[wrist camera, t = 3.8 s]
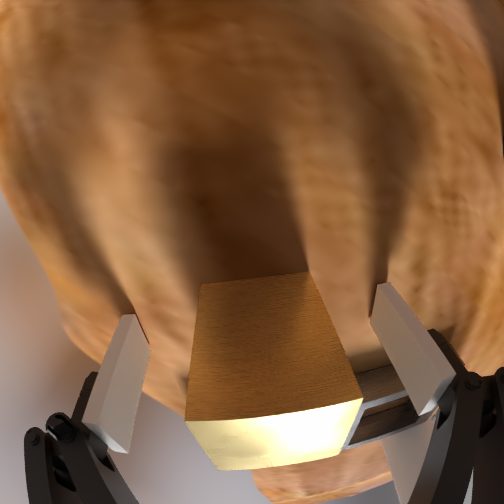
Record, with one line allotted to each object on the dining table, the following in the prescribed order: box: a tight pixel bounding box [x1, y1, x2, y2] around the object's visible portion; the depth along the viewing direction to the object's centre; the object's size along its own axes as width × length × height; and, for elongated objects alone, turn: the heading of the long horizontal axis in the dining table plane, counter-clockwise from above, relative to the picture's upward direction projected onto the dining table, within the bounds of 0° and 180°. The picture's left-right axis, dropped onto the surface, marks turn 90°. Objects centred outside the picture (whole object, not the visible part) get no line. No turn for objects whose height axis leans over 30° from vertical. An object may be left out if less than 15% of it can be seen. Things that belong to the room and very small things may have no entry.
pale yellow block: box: [185, 271, 363, 470], centre depth 11 cm, size 5×5×7 cm
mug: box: [380, 415, 435, 504], centre depth 18 cm, size 10×7×12 cm, turn 22°
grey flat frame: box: [340, 344, 465, 451], centre depth 18 cm, size 9×20×2 cm, turn 96°
